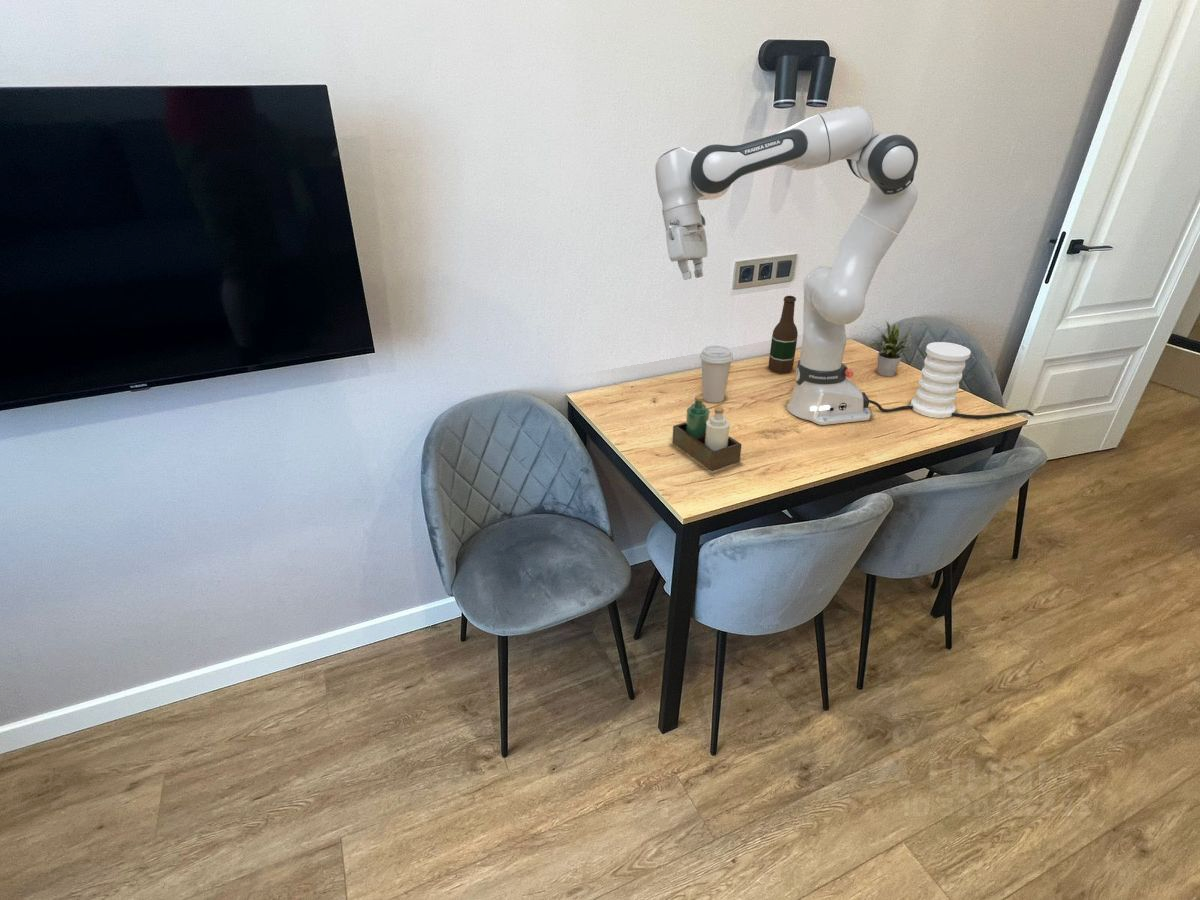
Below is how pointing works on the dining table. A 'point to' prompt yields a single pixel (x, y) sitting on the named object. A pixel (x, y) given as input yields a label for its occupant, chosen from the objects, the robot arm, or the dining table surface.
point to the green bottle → (697, 417)
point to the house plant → (890, 352)
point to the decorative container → (940, 379)
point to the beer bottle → (784, 339)
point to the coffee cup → (715, 372)
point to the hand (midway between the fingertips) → (693, 278)
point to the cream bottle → (717, 430)
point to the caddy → (706, 449)
